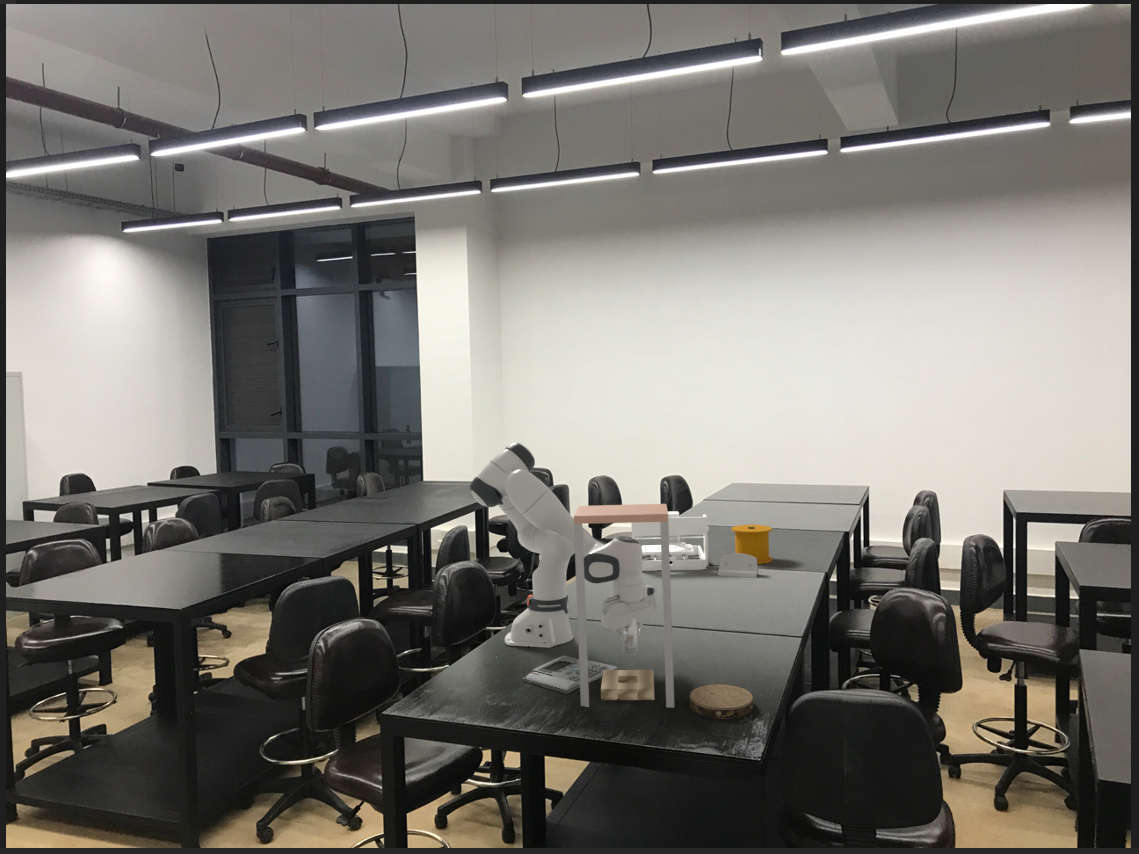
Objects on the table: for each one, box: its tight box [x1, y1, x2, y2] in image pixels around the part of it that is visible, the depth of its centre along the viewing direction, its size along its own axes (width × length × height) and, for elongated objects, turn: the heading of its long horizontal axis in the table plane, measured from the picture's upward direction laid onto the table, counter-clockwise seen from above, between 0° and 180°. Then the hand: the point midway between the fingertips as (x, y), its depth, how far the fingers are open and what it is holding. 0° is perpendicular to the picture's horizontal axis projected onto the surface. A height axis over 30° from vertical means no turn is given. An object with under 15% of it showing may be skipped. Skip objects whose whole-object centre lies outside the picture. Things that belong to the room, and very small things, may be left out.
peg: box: [623, 618, 639, 654], centre depth 239 cm, size 4×4×10 cm
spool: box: [730, 524, 773, 565], centre depth 373 cm, size 18×18×15 cm
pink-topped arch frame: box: [573, 503, 675, 708], centre depth 217 cm, size 24×17×50 cm
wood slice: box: [689, 683, 754, 720], centre depth 209 cm, size 16×16×3 cm
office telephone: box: [522, 655, 619, 691], centre depth 236 cm, size 23×3×20 cm
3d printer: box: [631, 510, 710, 572], centre depth 375 cm, size 35×32×25 cm
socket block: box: [600, 669, 655, 701], centre depth 222 cm, size 14×14×3 cm
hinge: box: [717, 553, 759, 578], centre depth 347 cm, size 17×5×10 cm, turn 68°
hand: (630, 638), depth 239 cm, fingers closed on peg, 4 cm apart
